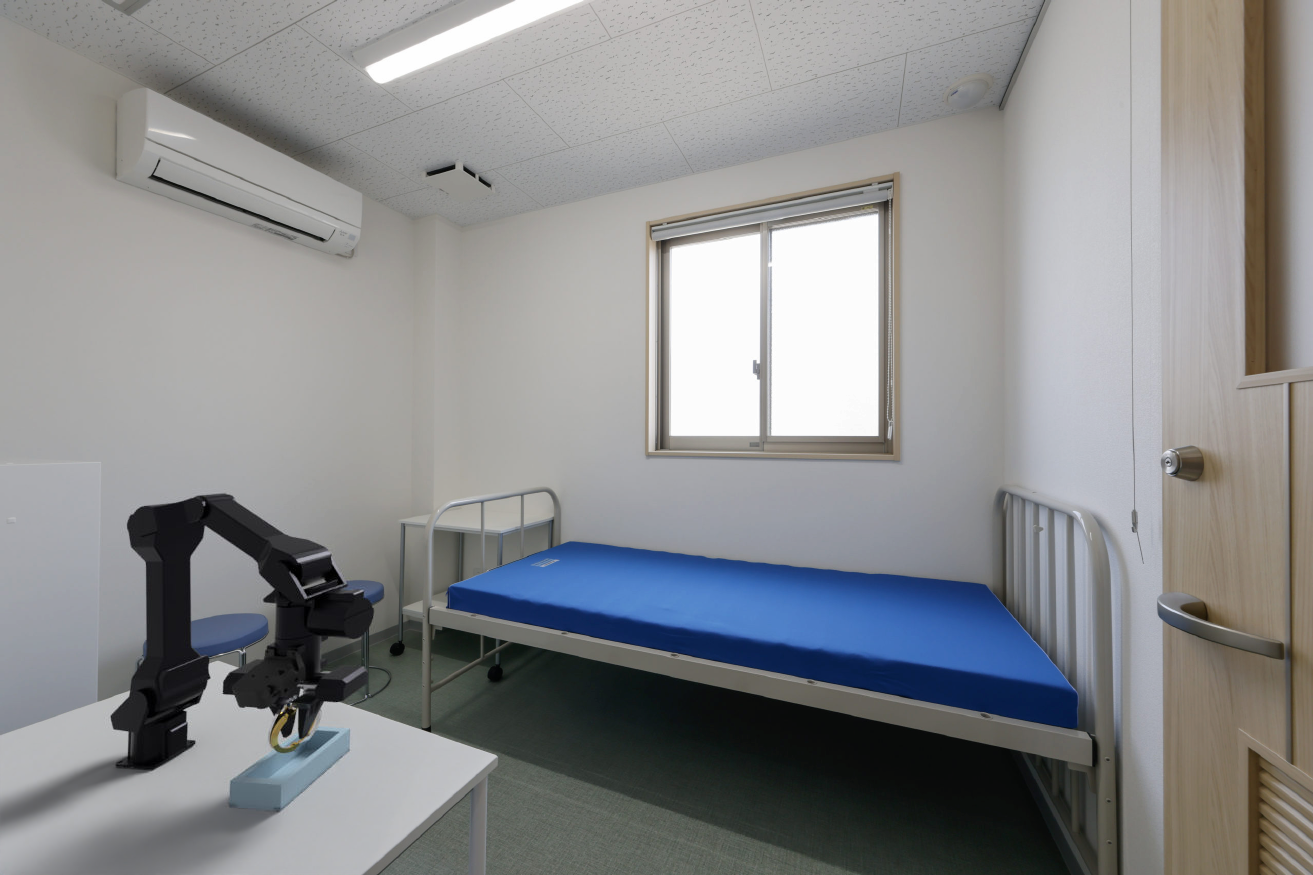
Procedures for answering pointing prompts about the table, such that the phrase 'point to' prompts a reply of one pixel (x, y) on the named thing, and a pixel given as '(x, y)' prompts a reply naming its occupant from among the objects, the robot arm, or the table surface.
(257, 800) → the box
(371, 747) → the table surface
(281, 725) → the ring
